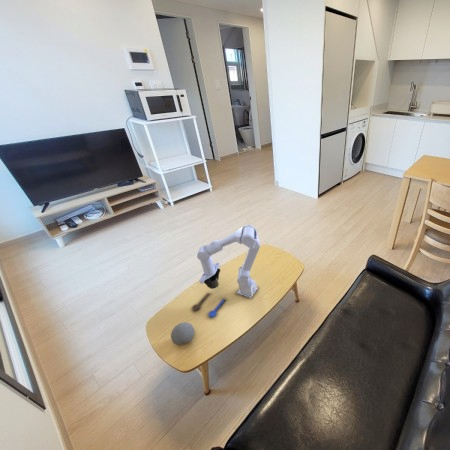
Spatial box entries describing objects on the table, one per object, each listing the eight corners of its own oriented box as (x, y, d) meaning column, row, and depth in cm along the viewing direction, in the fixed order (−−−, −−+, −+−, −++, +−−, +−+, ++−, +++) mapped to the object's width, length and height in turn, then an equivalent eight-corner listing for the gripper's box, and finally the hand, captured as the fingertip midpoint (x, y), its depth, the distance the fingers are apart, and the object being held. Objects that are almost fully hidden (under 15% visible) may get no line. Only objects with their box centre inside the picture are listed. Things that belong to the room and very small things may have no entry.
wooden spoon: (206, 293, 139) (205, 292, 138) (211, 295, 138) (210, 294, 137) (191, 309, 130) (190, 308, 129) (196, 311, 128) (196, 310, 128)
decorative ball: (174, 353, 110) (167, 341, 104) (174, 334, 118) (168, 322, 112) (197, 344, 113) (191, 332, 108) (195, 327, 121) (190, 315, 115)
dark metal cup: (220, 283, 136) (218, 276, 133) (214, 289, 132) (212, 283, 129) (213, 280, 138) (211, 273, 135) (206, 287, 134) (204, 280, 131)
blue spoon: (221, 299, 135) (221, 298, 135) (226, 300, 134) (226, 300, 134) (207, 316, 126) (207, 315, 126) (213, 318, 125) (212, 317, 125)
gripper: (211, 255, 133) (215, 272, 141) (192, 272, 122) (198, 290, 130) (221, 258, 131) (225, 276, 139) (203, 276, 120) (209, 294, 128)
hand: (213, 283), depth 134 cm, fingers closed on dark metal cup, 5 cm apart
